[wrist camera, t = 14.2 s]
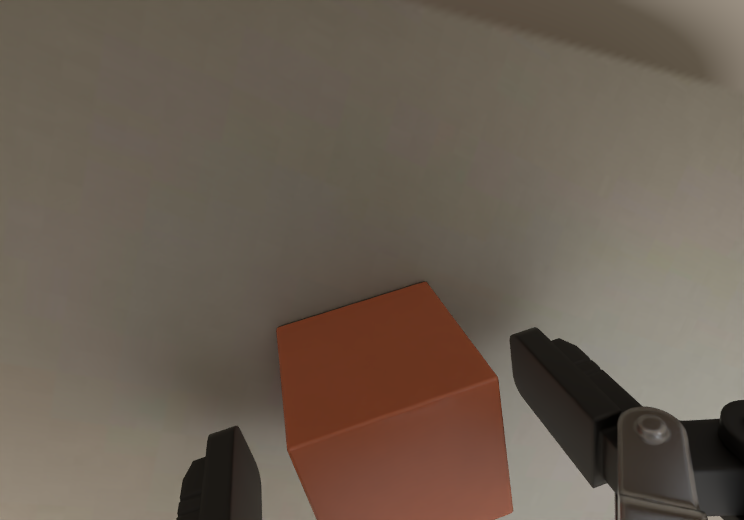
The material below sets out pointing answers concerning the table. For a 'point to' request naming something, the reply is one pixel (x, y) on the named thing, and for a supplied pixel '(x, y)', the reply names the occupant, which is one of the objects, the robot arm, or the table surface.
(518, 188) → the table surface
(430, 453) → the block
